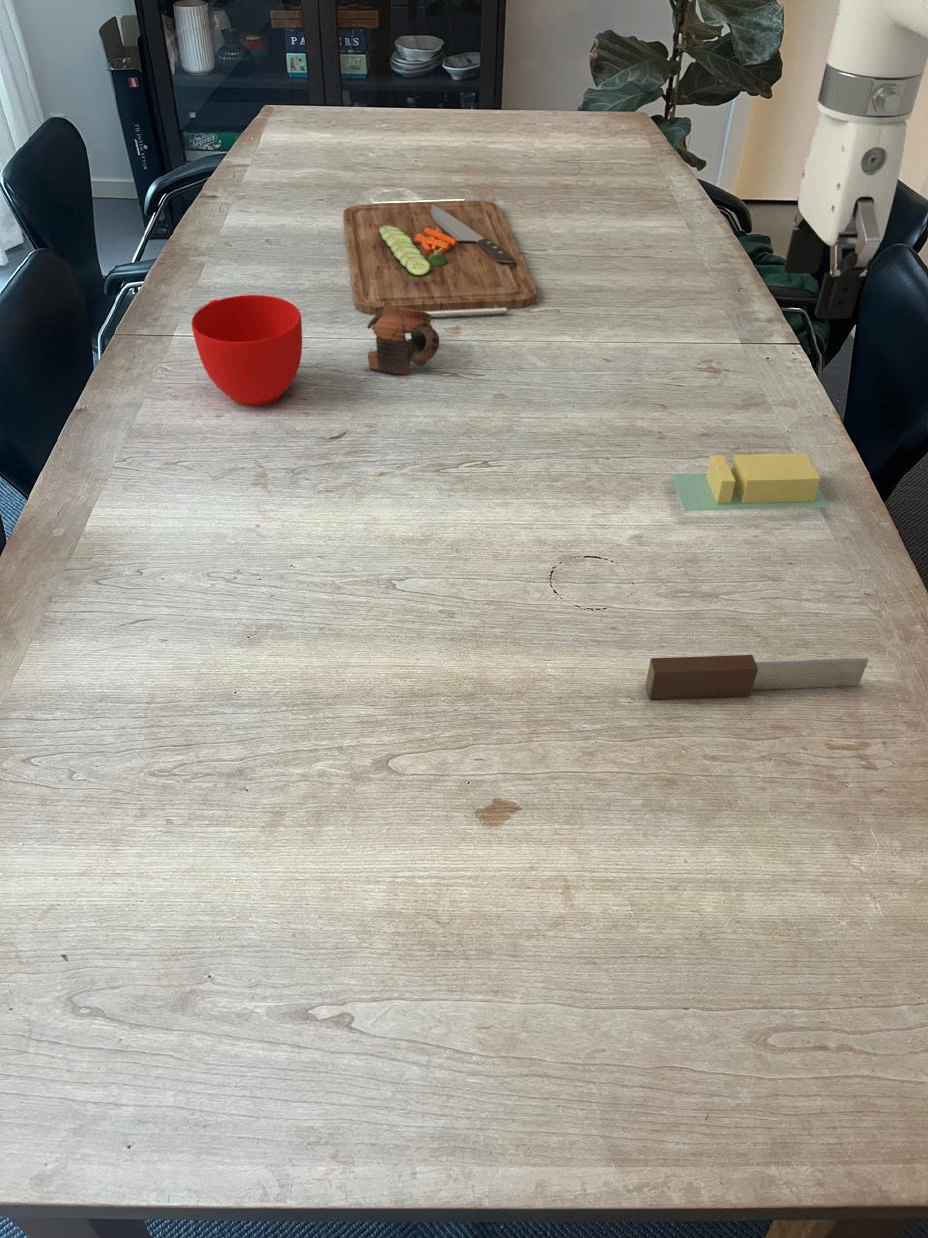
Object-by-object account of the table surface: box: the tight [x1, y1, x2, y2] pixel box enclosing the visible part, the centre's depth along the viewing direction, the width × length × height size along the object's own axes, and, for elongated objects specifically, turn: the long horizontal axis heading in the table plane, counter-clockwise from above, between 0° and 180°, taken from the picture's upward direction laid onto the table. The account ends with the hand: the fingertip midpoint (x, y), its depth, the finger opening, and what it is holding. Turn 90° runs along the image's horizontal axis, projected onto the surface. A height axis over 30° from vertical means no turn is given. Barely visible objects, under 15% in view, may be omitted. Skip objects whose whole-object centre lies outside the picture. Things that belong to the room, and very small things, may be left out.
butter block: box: [730, 452, 821, 503], centre depth 109 cm, size 8×5×3 cm, turn 94°
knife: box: [645, 654, 869, 700], centre depth 87 cm, size 2×19×3 cm, turn 93°
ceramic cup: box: [191, 294, 303, 407], centre depth 124 cm, size 13×17×10 cm
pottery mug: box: [366, 306, 440, 375], centre depth 131 cm, size 12×10×8 cm
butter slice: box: [706, 454, 736, 504], centre depth 109 cm, size 2×5×3 cm, turn 4°
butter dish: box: [669, 472, 831, 512], centre depth 110 cm, size 16×7×1 cm, turn 94°
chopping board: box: [342, 197, 537, 318], centre depth 158 cm, size 45×27×3 cm, turn 8°
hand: (815, 293), depth 93 cm, fingers open, 9 cm apart
